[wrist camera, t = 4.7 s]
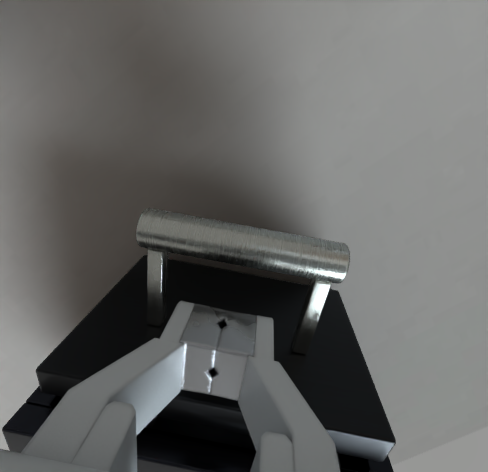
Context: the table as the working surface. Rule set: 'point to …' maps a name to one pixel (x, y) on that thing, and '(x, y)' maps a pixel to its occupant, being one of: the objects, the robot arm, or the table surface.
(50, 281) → the table surface
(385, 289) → the table surface
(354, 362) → the drawer
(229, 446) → the black drawer cabinet
